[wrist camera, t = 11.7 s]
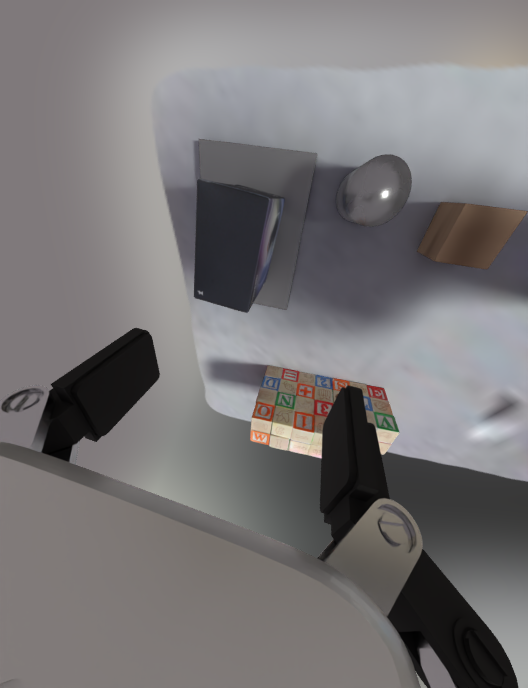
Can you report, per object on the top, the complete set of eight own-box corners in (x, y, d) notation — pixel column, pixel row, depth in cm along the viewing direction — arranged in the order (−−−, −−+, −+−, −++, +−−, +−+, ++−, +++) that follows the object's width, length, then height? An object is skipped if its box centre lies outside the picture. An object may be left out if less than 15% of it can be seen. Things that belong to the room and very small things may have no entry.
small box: (268, 284, 31) (249, 317, 23) (225, 271, 31) (190, 299, 23) (288, 197, 25) (273, 197, 16) (235, 182, 25) (192, 176, 17)
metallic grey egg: (379, 157, 22) (407, 139, 16) (387, 209, 24) (414, 210, 19) (330, 182, 24) (340, 175, 18) (342, 229, 26) (354, 236, 20)
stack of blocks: (384, 386, 38) (408, 453, 28) (372, 409, 42) (389, 475, 32) (267, 364, 41) (250, 418, 31) (264, 387, 45) (249, 442, 35)
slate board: (317, 154, 23) (317, 153, 22) (287, 307, 34) (286, 310, 33) (202, 140, 24) (198, 138, 24) (208, 291, 35) (205, 293, 34)
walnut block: (491, 208, 23) (527, 211, 19) (460, 257, 26) (487, 269, 22) (440, 202, 23) (465, 203, 19) (416, 251, 26) (434, 261, 22)
